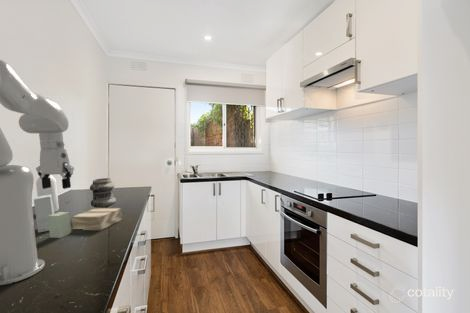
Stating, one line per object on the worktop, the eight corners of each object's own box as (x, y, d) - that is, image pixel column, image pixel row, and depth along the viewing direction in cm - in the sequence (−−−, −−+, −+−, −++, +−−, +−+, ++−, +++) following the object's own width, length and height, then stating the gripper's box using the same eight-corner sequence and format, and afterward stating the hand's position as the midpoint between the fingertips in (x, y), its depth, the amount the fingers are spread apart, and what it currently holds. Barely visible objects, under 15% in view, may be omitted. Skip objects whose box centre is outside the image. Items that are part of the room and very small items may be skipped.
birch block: (100, 231, 103) (99, 217, 103) (73, 230, 106) (71, 216, 105) (122, 220, 117) (121, 208, 116) (97, 219, 119) (96, 207, 119)
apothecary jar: (97, 216, 123) (94, 181, 122) (87, 213, 131) (84, 180, 129) (120, 210, 133) (118, 178, 132) (110, 207, 140) (107, 176, 139)
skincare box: (54, 230, 106) (51, 196, 105) (36, 233, 103) (33, 199, 102) (55, 224, 113) (52, 193, 112) (39, 227, 110) (36, 195, 109)
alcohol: (35, 214, 133) (29, 160, 130) (51, 209, 141) (46, 158, 139) (47, 215, 130) (41, 159, 128) (62, 210, 138) (57, 158, 136)
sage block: (60, 238, 96) (58, 215, 96) (50, 237, 97) (47, 215, 97) (71, 233, 101) (69, 212, 101) (61, 232, 102) (59, 212, 102)
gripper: (78, 145, 99) (82, 186, 100) (43, 146, 102) (48, 186, 104) (62, 146, 92) (66, 190, 93) (25, 147, 95) (30, 190, 97)
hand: (56, 188), depth 98 cm, fingers open, 9 cm apart
